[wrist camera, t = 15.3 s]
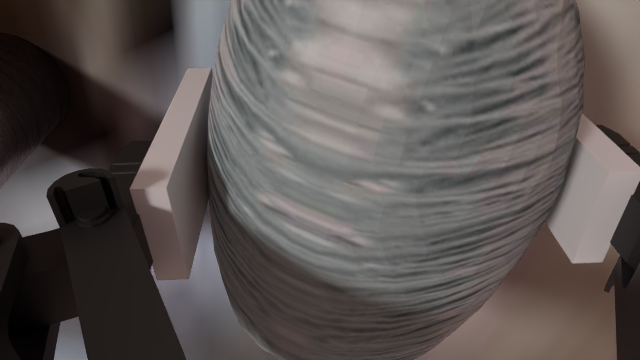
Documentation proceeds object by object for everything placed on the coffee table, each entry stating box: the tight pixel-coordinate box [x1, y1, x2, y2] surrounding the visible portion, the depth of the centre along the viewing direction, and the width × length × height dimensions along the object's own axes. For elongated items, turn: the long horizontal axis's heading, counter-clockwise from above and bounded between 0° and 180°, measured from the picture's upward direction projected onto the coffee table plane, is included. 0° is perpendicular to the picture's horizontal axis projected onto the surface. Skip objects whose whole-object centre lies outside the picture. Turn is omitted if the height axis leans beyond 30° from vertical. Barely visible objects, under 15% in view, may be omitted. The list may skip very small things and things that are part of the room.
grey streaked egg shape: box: [207, 0, 585, 360], centre depth 13 cm, size 14×10×10 cm
